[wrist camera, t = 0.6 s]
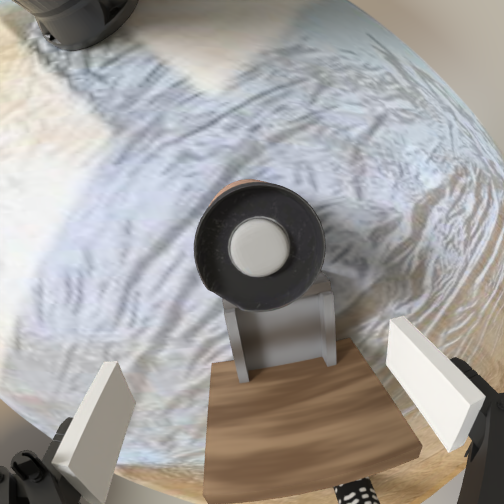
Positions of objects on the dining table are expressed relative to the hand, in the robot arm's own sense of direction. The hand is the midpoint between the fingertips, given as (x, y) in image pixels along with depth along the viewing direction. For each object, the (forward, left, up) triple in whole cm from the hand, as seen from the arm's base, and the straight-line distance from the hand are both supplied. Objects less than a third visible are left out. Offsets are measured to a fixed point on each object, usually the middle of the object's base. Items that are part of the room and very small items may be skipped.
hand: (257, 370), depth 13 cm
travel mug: (-4, +1, -25) cm, 25 cm away
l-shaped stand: (+11, +3, -25) cm, 27 cm away
